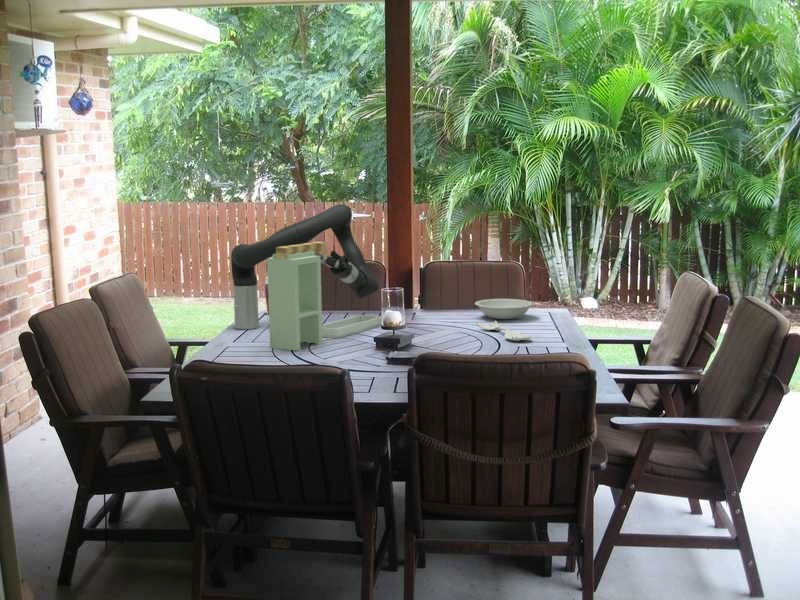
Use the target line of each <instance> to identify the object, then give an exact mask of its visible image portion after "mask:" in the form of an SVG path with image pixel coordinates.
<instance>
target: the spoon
mask: <svg viewBox="0 0 800 600" xmlns="http://www.w3.org/2000/svg"><path fill="white" fill-rule="evenodd" d="M475 324H476V326H478V327H480V328H481V329H484V330H486V329H487V331H489V330H496V331H498V330H501V331H505V333H504V336H503V337H504V338H505V339H507V340H508V339H509V340H508V341H511V340H518V341H517V342H521V341H520V340H524V341H527V340H530V339H531V338H532V336H530V335H526V334H522V333H518V332H515V331H513V330H510V329H509V328H508V327H507V326H502V325H500V324H499V323H498V321H496V320H494V322H493V321H492V322H489V324H488V323H485V324H484V323H481V322H475ZM512 337H513V338H512ZM514 337H518V338H514Z"/></svg>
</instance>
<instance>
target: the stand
mask: <svg viewBox="0 0 800 600" xmlns="http://www.w3.org/2000/svg"><path fill="white" fill-rule="evenodd" d="M266 260H267V262H266V265H267V278H268V298H269V314H268V320H269V321H268V322H269V323H268V324H269V348H270V349H276V348H278V349H279V350H283V349H287V350H286V351H291V350H296V351H295V352H298V351H297V350H299V351H301V343H302V342H307V343H306V344H310V343H315V344H314V345H318V344H320V345H322V343H323V337H322V325H323V305H322V304H323V303H322V266H321V256H315V251H311V252H304V253H297V254H290V255H286V259H276V254H273V256H272V257H270V258H267V259H266ZM278 349H277V350H278Z"/></svg>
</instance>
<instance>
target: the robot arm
mask: <svg viewBox="0 0 800 600" xmlns="http://www.w3.org/2000/svg"><path fill="white" fill-rule="evenodd" d="M352 219H353V211H352V208H351V207H349V206H348V205H346V204H341V203H338V204H336V205H333V206H330V207H329V208H328V209H327V208H326V209H325V210H324V211H322V212H320V213H318V214H316V215H314V216H310V217H309V218H306V219H304V220H301V221H298V222H296V223H292V224H290V225H288V226H285V227H283V228H280V229H279V230H278V231H275V232H274V233H273V234H272V235H270V236H269V237H267V238H265V239H263V240H260V241H257V242H255V243H251V244H246V243H241V244H237V245H235V246H234V248H233V249H232V251H231V256H230V261H231V265H230V266H231V276H232V281H233V300H234V301H233V310H234V328H236V329H235V330H255V329H258V328H259V326H260V324H259V323H260V322H259V300H258V298H259V297H258V278H257V274H256V270H255V269H256V268H255V266H257V265H259V264H260V263H262V262H264V261H265V260H267V258H272V257H273V254H276V247H282V246H290V245H297V244H304V243H310V241H312V240H314V238H316V237H317V236H319V235H320V234H321V233H323V232H324V231H327V230H331V231H332V232H333V235H334V236H335V237H336V240H337V241H338V243H339V245H340V247H341V250H342V253H343V255H341V254H338V253H337V252H336V251H335V250H331V252H330V254H329V255H328V254H317V255H315V256H320V257H321V267H323V266H324V265H325V266H327V268H329V269H330V272H331V273H332V274H333V275H334V276H335V277H337V278H338V279H339V280H340V281H342V282H344V283H345V284H347V285H348V286H349V287H350V289H351V290H352V292H353V294H354V296H355V297H356V298H358V299H364V298H366V297H368V296H370V295H373V294H375V293H376V292H377V291H378V290H379V287H380V285H379V284H380V283H379V282H378V279H377V278H376V277H375V276H374V275H373V273H372V272H371V270H370V269H369V266H368V265H367V263H366V260H365V257H364V255H363V253H362V250H361V248H360V247H359V246H358V245H357V243H356V241H355V238H354V236H353V234H352V233H353V232H352V229H351V222H352ZM254 328H255V329H254Z"/></svg>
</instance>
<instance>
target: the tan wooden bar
mask: <svg viewBox="0 0 800 600" xmlns="http://www.w3.org/2000/svg"><path fill="white" fill-rule="evenodd" d="M311 251H315V255H317V254H322V255H324V254H326V253H327V242H326V241H315V242H308V243H304V244H297V245H290V246H282V247H276V259H286V255H290V254H297V253H304V252H311Z"/></svg>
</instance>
